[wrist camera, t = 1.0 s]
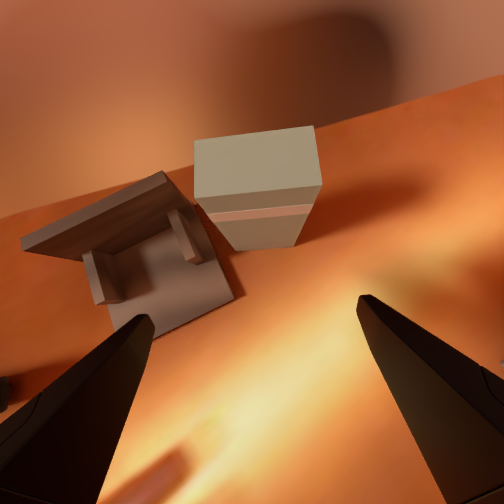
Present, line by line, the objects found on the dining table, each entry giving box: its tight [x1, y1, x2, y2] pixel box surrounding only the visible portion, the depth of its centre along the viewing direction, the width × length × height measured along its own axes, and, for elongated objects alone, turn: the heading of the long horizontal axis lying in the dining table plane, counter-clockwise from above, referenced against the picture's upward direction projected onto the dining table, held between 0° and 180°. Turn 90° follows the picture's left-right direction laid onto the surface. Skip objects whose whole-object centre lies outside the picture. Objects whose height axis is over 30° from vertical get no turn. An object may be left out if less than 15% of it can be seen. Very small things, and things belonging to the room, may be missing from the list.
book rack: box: [20, 171, 236, 339], centre depth 19 cm, size 12×13×8 cm
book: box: [194, 126, 322, 252], centre depth 17 cm, size 4×6×13 cm, turn 94°
